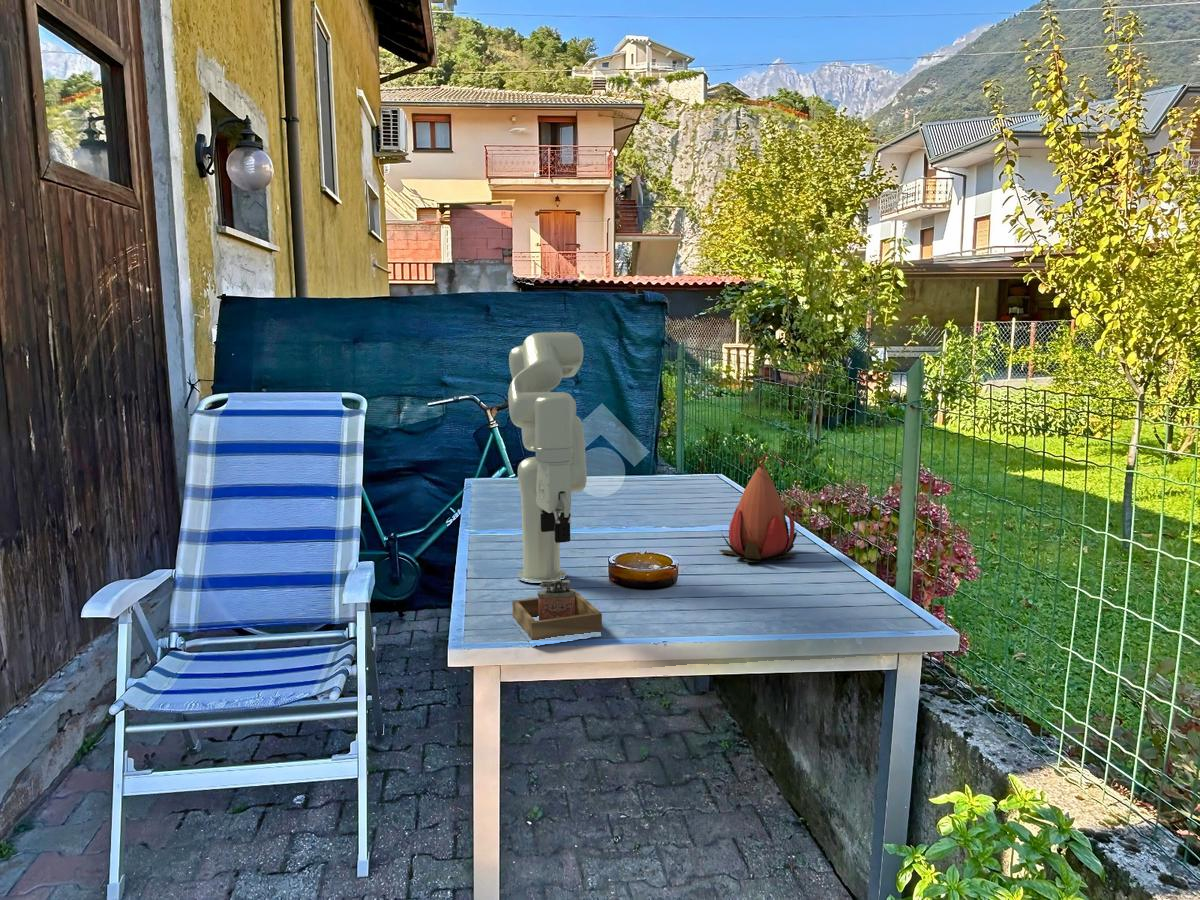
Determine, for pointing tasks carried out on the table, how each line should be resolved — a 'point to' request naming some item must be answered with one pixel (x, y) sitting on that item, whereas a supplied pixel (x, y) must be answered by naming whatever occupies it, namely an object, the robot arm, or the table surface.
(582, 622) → the walled box
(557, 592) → the lighter
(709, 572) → the table surface
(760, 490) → the decorative flower
